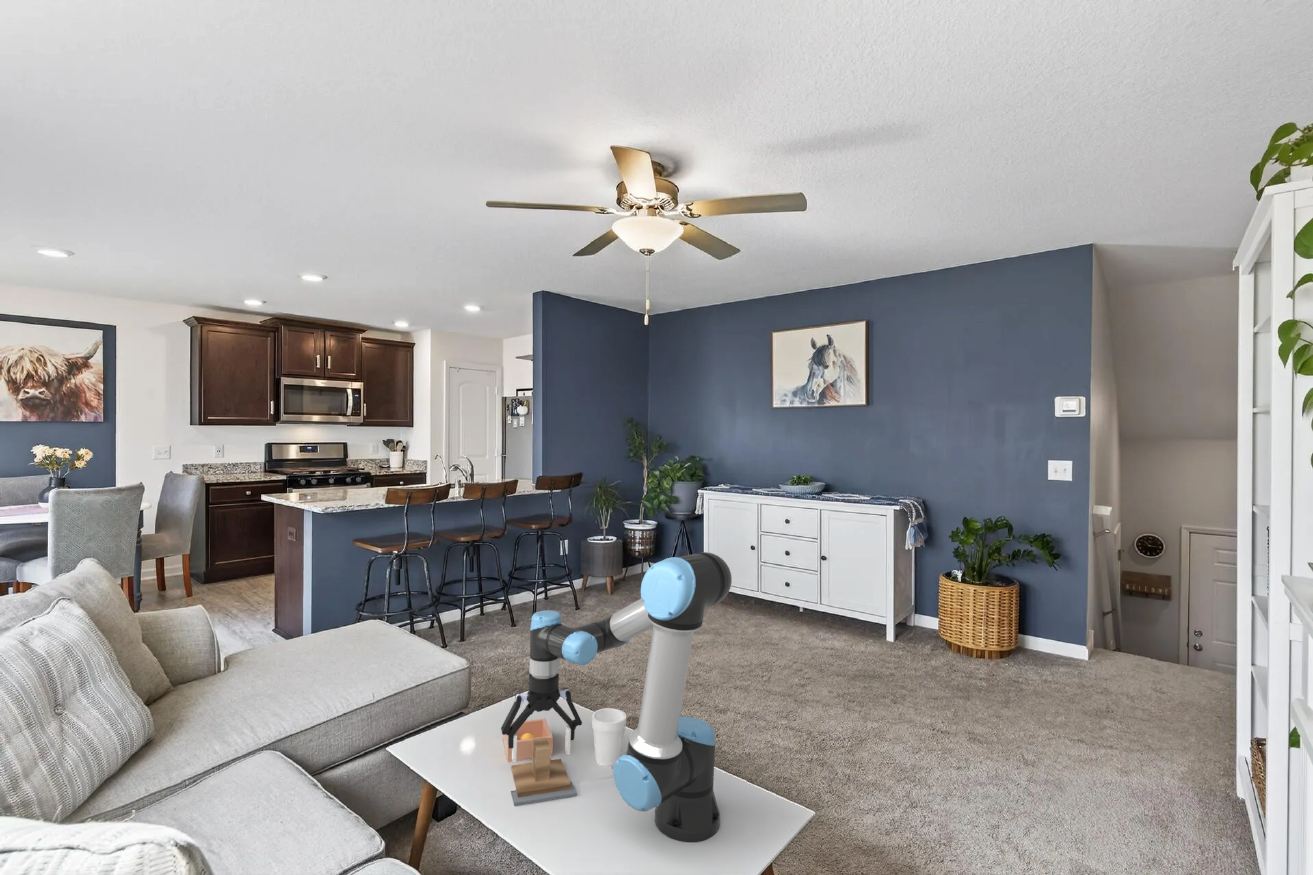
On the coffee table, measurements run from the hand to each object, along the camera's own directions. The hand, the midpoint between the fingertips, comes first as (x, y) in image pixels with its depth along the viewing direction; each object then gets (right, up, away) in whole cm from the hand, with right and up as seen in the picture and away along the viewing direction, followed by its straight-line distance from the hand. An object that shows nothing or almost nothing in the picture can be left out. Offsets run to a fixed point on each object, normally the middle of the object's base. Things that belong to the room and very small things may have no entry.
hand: (541, 756), depth 161 cm
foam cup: (+16, -8, +11) cm, 21 cm away
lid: (0, -6, 0) cm, 6 cm away
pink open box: (-7, -6, +15) cm, 18 cm away
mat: (0, -7, 0) cm, 7 cm away
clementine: (-7, -5, +15) cm, 17 cm away
